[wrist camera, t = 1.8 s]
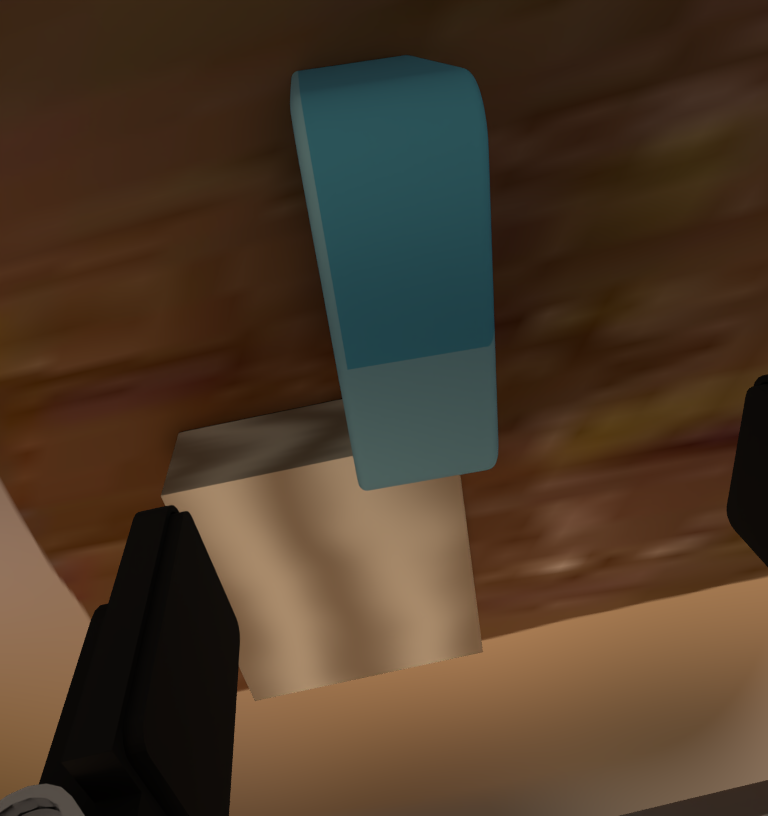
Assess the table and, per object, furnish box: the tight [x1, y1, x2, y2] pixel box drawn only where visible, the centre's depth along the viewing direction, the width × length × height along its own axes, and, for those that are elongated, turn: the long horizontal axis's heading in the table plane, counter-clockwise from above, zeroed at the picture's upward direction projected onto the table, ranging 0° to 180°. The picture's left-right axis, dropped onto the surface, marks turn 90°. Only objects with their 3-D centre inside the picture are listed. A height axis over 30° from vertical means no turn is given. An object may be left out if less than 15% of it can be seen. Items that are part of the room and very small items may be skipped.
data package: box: [290, 55, 498, 491], centre depth 22 cm, size 12×4×12 cm, turn 7°
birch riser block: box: [161, 399, 483, 701], centre depth 33 cm, size 13×15×5 cm
